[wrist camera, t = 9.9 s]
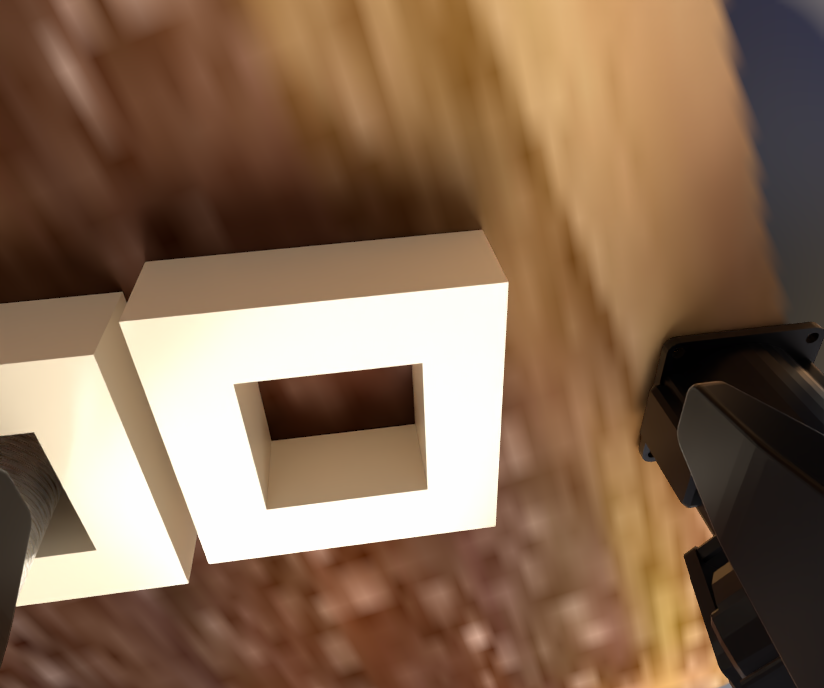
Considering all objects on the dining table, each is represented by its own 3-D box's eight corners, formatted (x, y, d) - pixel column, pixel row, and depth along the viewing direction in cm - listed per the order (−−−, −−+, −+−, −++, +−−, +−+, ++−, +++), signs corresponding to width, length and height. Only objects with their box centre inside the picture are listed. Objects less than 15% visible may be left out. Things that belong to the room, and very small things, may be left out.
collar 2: (482, 229, 21) (508, 282, 19) (476, 461, 28) (495, 526, 25) (145, 261, 21) (118, 321, 18) (219, 493, 27) (208, 564, 24)
